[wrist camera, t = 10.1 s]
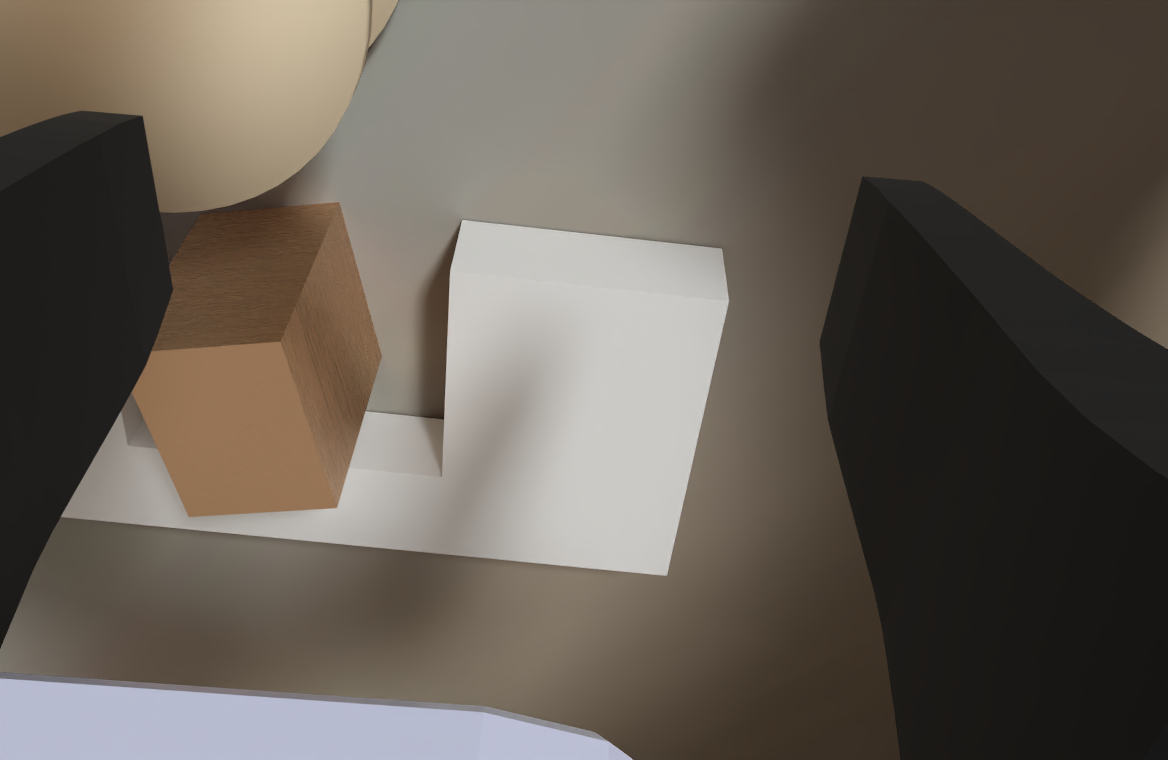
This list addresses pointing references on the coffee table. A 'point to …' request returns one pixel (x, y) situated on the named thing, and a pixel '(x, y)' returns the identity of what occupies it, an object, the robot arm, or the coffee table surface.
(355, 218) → the coffee table surface
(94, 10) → the bobbin
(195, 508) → the block
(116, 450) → the board
